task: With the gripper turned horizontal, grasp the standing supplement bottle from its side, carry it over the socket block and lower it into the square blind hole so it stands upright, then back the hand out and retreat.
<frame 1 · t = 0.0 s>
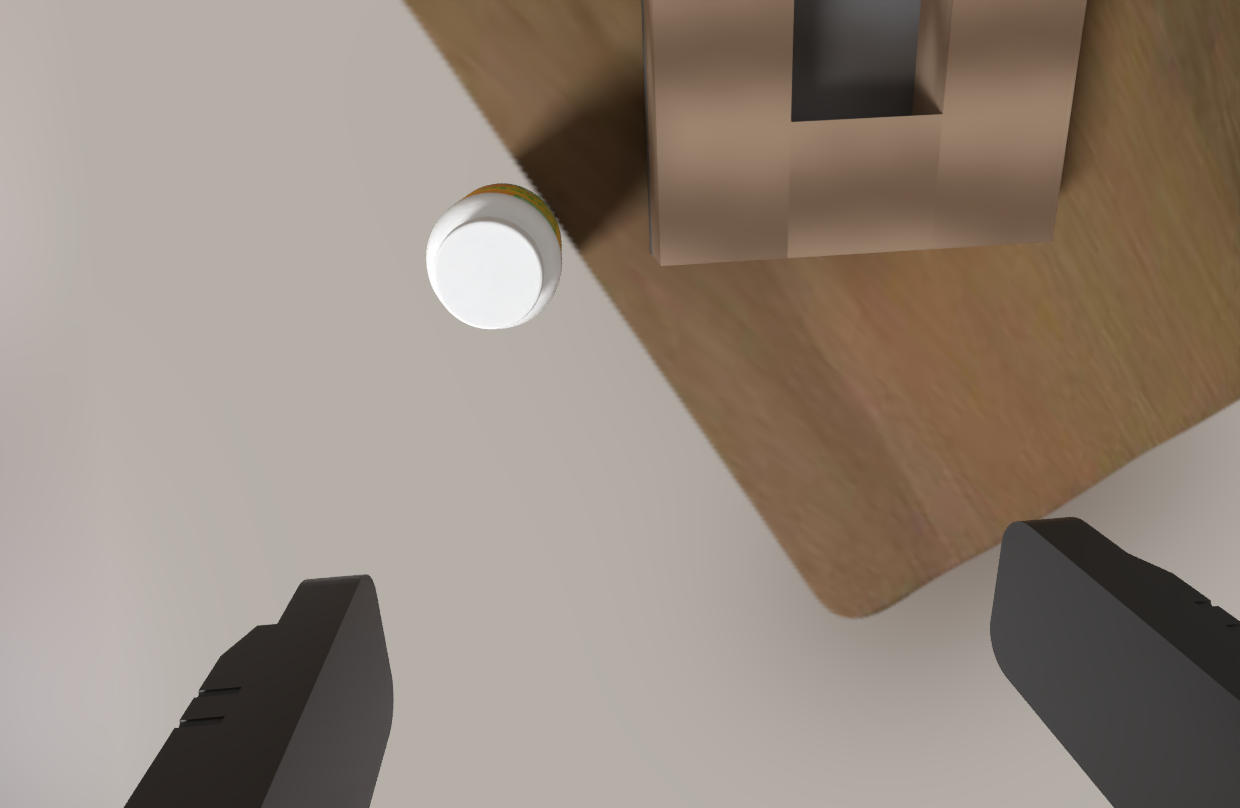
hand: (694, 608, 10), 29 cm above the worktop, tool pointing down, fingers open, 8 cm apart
supplement bottle: (505, 239, 37), on the worktop
socket block: (838, 42, 35), on the worktop
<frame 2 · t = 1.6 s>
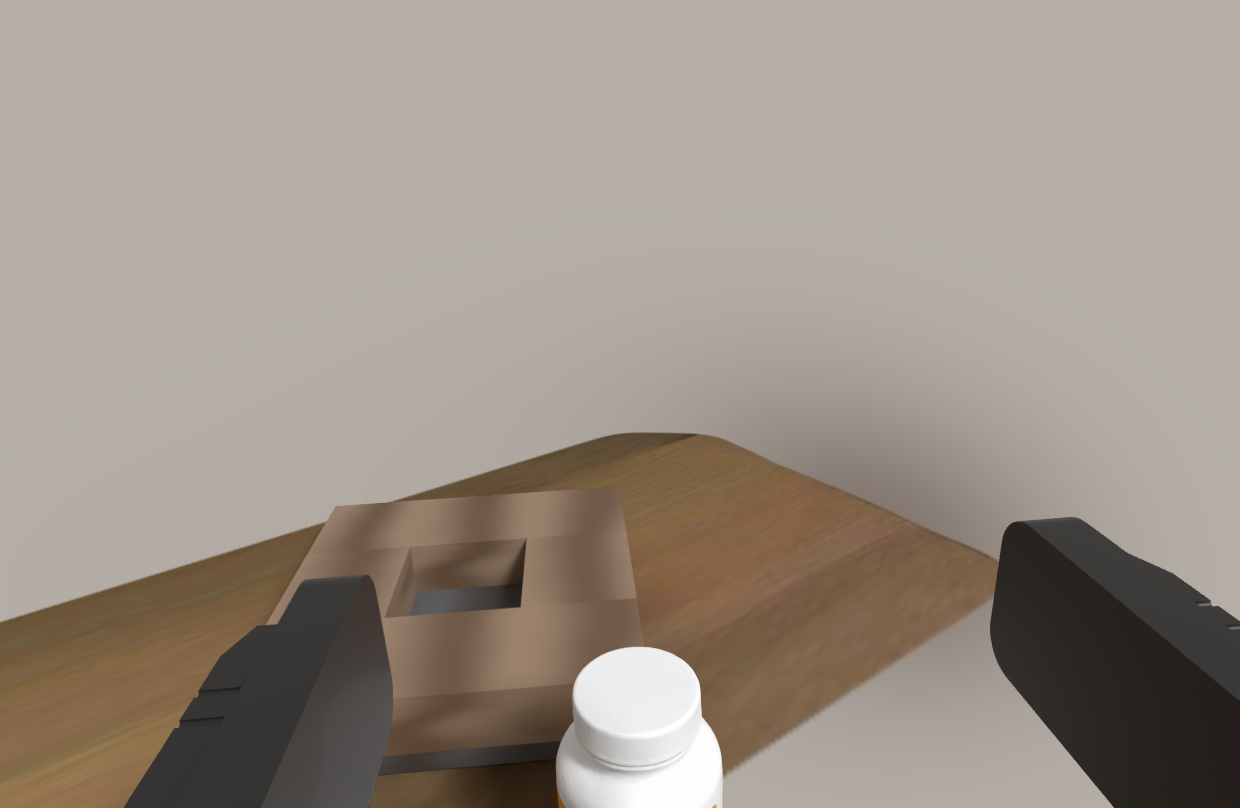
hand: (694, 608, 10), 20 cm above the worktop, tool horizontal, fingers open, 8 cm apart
socket block: (469, 637, 41), on the worktop
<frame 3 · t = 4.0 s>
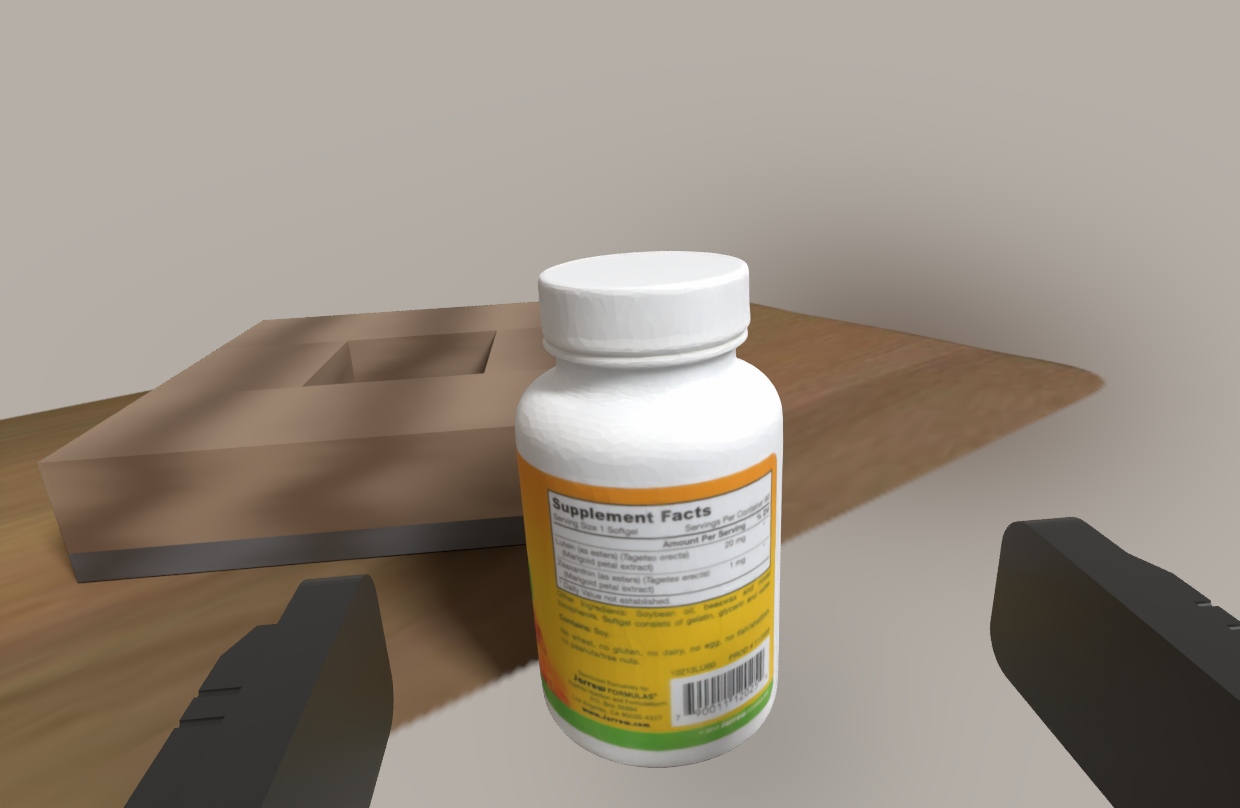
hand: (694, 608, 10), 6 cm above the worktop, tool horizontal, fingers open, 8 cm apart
supplement bottle: (659, 692, 18), on the worktop
socket block: (423, 446, 32), on the worktop
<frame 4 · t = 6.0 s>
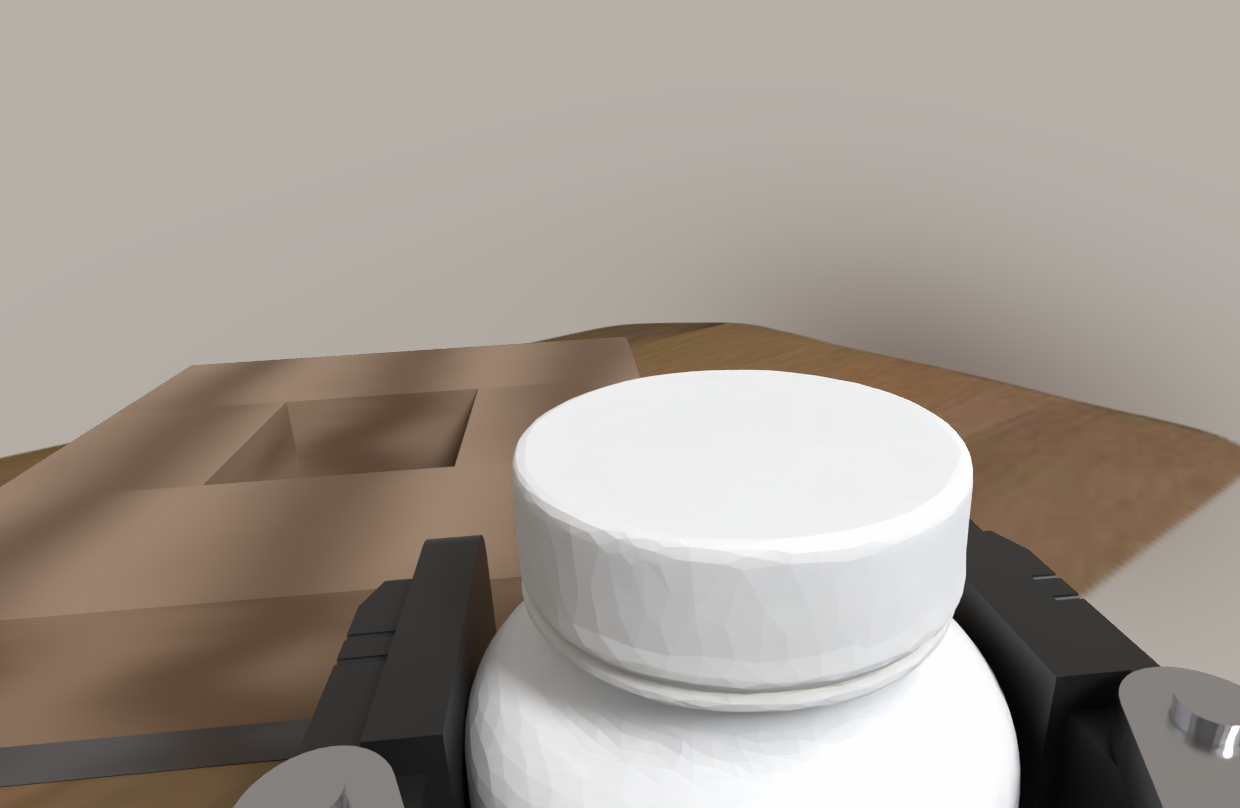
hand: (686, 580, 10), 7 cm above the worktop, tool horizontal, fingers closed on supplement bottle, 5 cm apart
socket block: (380, 544, 25), on the worktop
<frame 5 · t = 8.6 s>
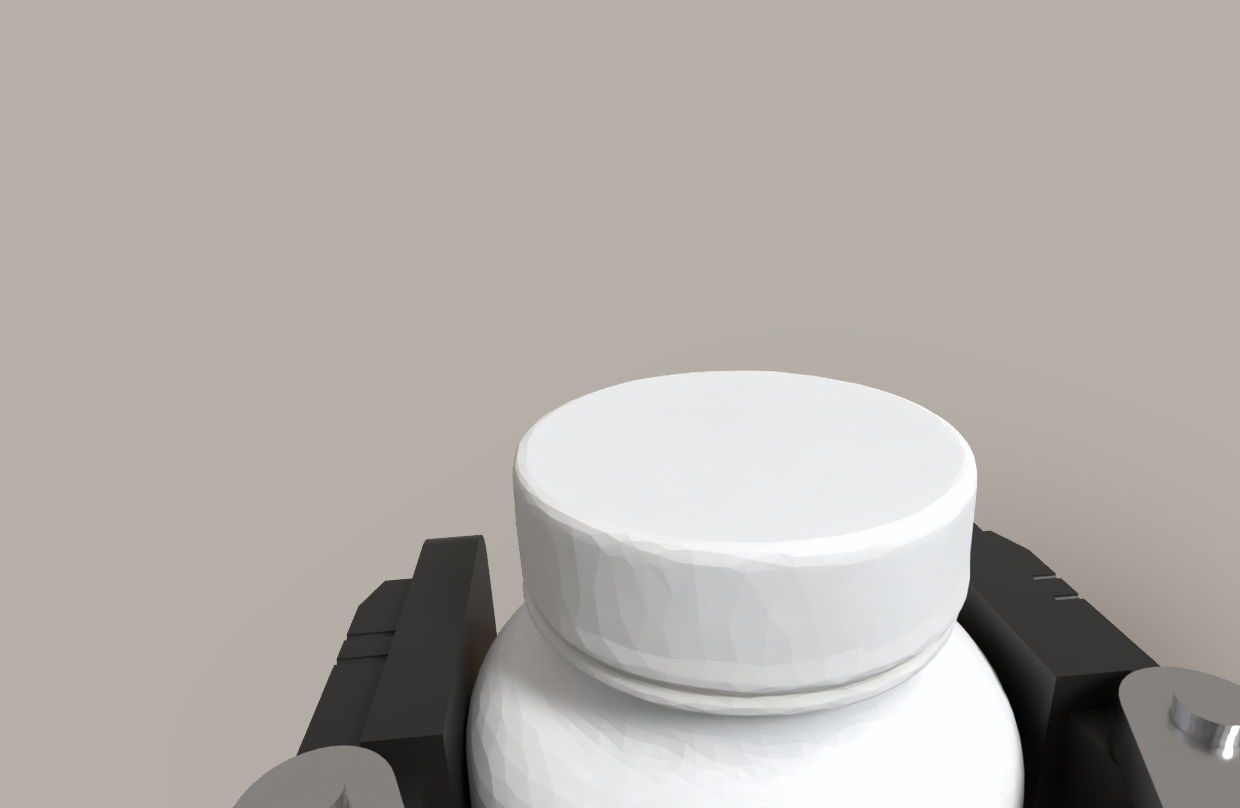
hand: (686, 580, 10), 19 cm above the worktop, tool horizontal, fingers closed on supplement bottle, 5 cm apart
when the fingers open (11 cm above the worktop, at t = 11.2 s): supplement bottle drops 3 cm, resting on socket block.
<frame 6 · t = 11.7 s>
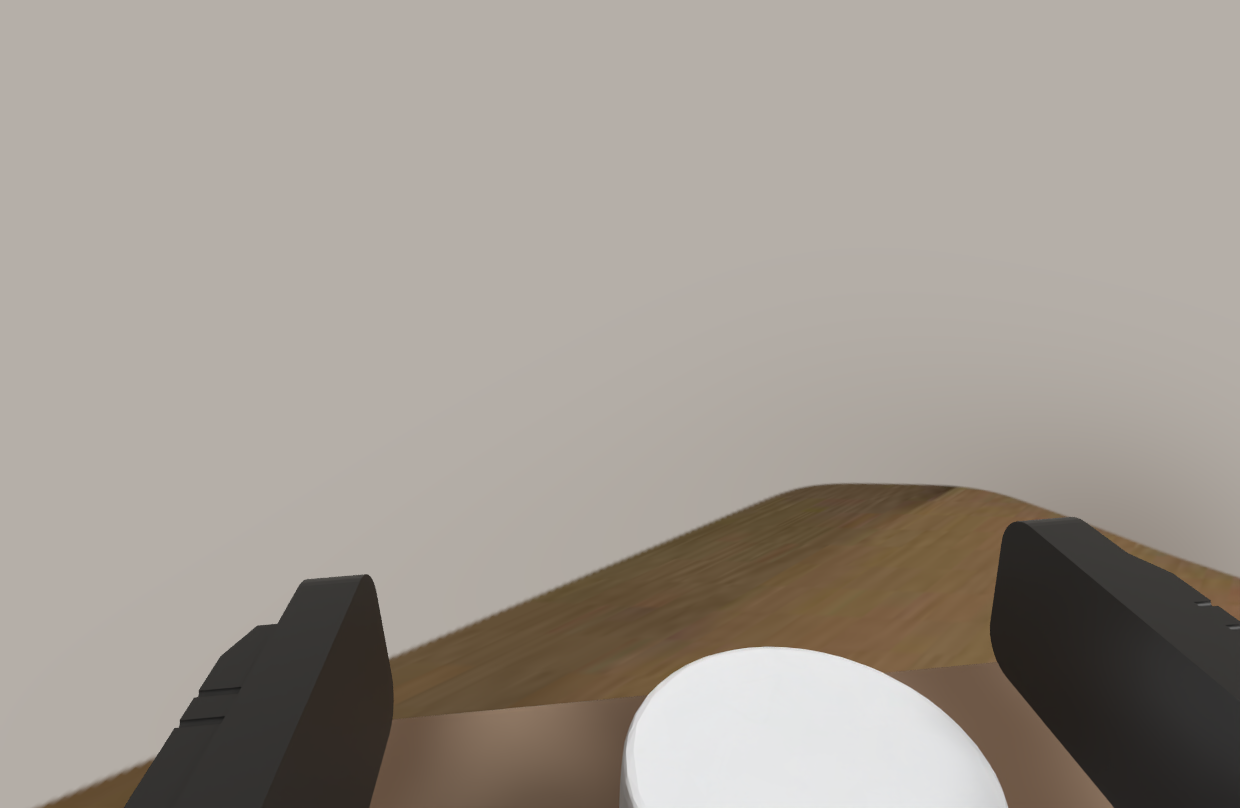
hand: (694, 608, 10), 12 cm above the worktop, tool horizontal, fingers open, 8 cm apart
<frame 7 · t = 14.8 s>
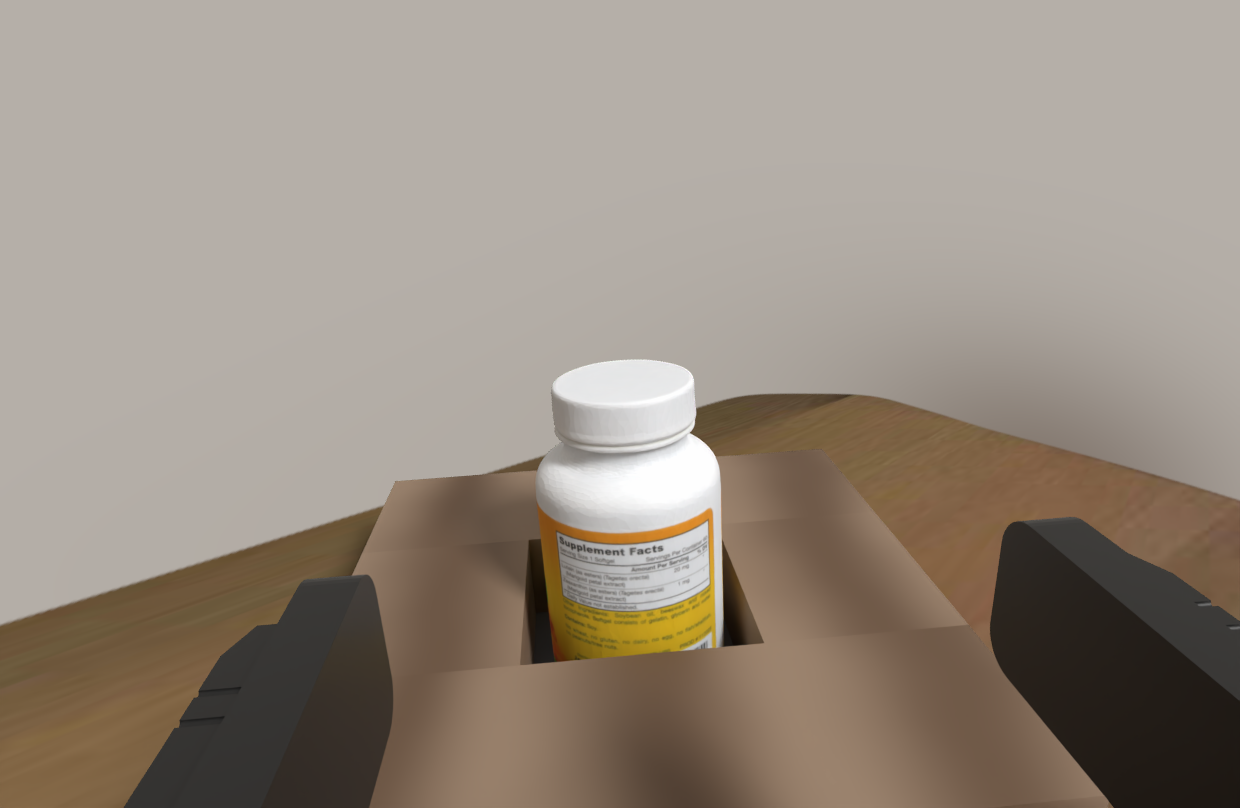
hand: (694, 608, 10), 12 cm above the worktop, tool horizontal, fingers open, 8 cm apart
supplement bottle: (640, 671, 24), point 1 cm above the worktop, touching socket block
socket block: (637, 689, 25), on the worktop
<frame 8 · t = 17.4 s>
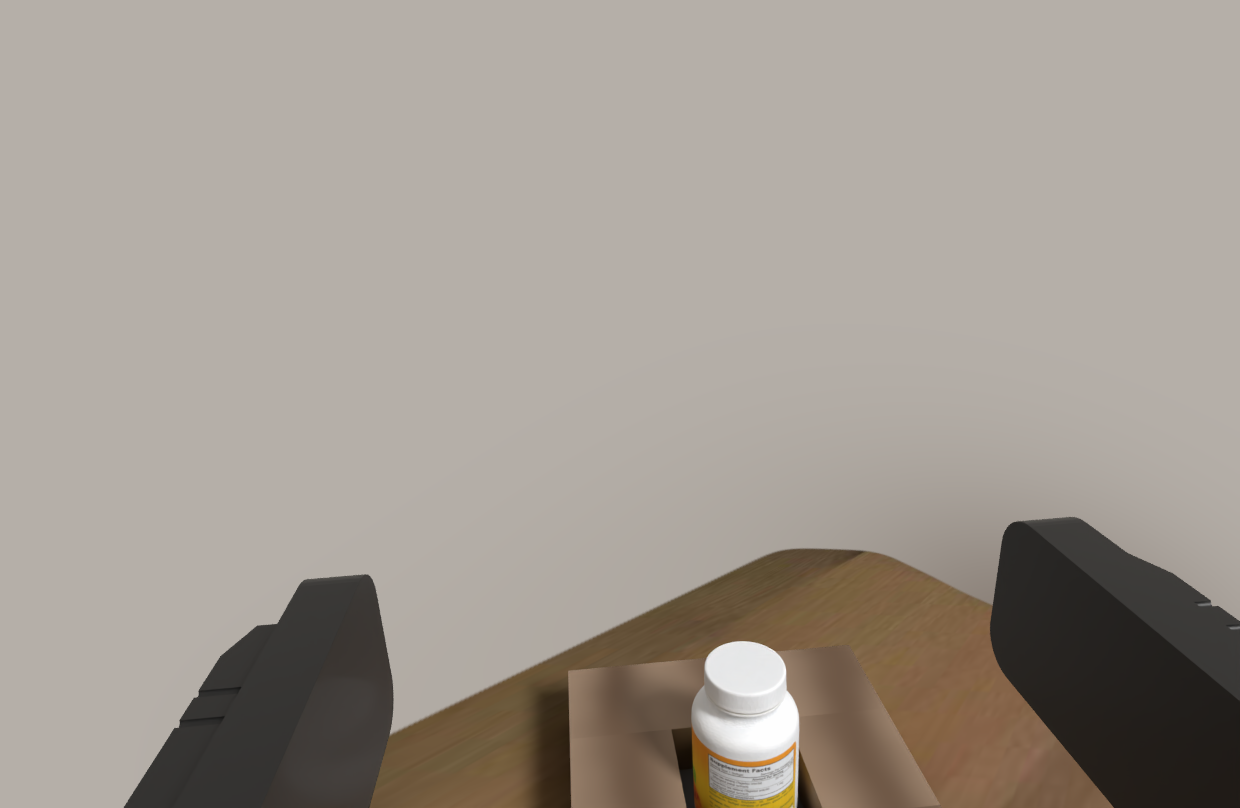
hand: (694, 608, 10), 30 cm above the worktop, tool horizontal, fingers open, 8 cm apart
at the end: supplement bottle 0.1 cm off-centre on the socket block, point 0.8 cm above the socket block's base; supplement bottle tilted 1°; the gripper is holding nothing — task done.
